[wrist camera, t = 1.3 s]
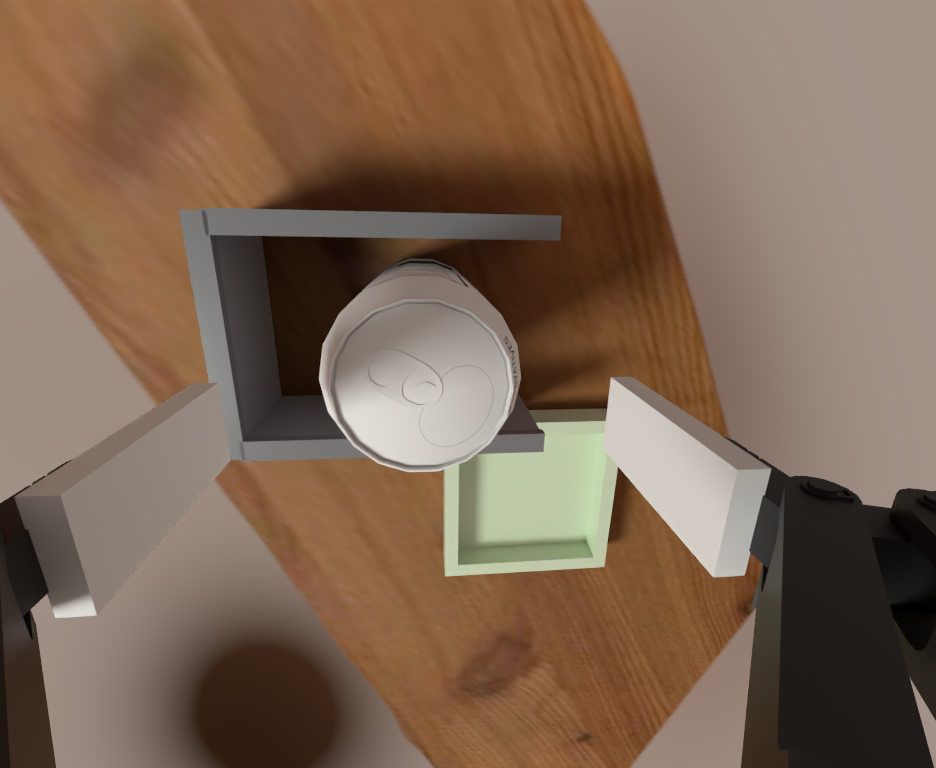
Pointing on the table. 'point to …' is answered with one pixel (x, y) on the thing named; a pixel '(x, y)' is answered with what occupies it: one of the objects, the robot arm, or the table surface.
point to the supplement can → (420, 368)
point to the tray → (533, 501)
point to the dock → (251, 328)
